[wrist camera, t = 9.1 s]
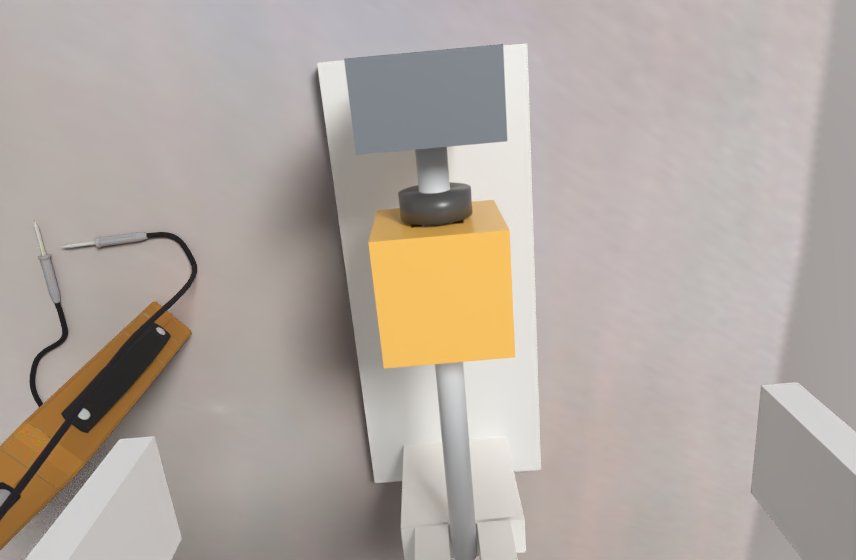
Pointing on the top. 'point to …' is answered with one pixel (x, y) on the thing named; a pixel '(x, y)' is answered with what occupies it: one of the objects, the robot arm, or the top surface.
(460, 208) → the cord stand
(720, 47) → the top surface
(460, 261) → the cube with square hole
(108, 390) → the multimeter
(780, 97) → the top surface
